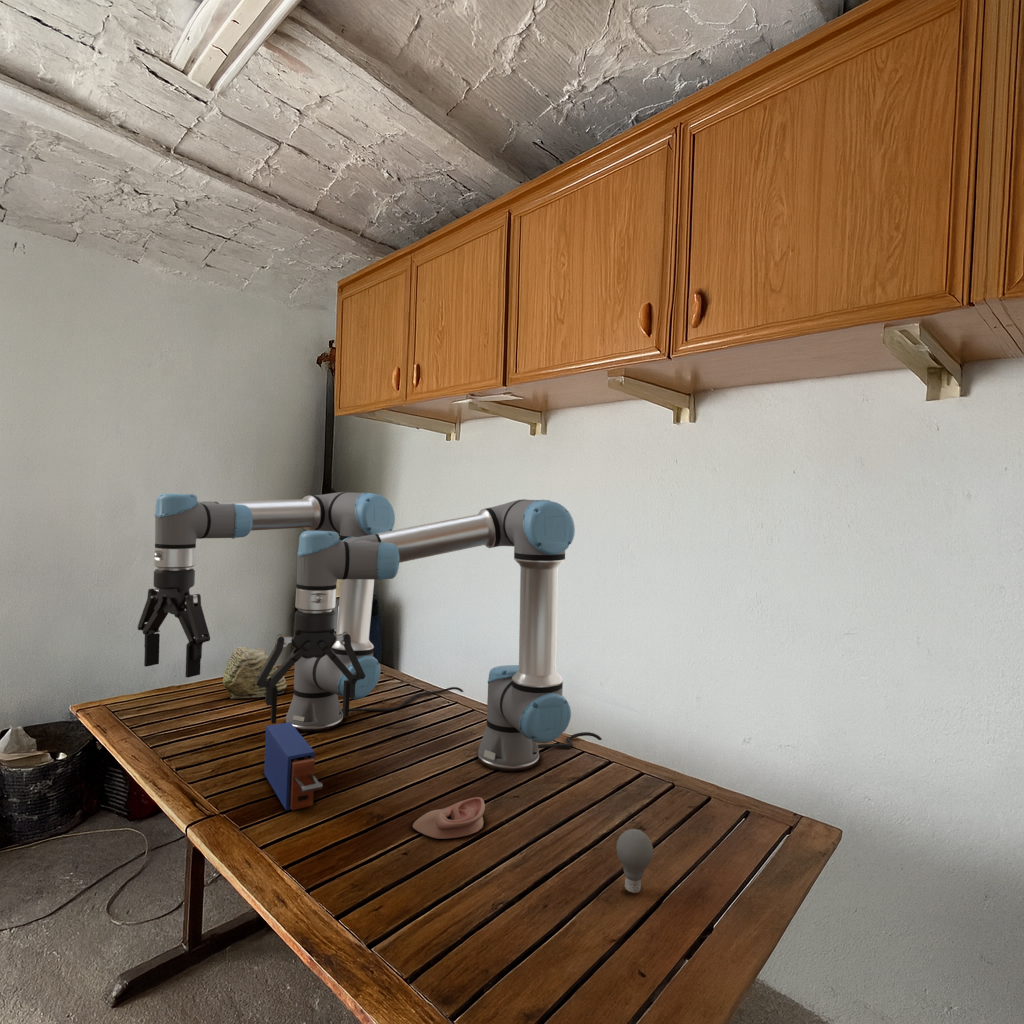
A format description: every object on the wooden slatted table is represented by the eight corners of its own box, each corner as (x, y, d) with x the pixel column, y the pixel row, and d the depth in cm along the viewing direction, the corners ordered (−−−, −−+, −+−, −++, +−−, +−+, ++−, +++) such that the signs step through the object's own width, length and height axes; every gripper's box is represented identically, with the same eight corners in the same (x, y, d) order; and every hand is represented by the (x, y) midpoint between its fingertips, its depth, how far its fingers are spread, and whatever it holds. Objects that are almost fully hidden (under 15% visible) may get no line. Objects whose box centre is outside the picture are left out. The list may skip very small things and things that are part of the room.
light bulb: (610, 879, 108) (613, 822, 108) (644, 879, 109) (647, 822, 109) (619, 902, 102) (622, 840, 102) (655, 901, 103) (658, 840, 103)
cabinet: (312, 804, 130) (314, 751, 130) (285, 810, 127) (287, 756, 127) (288, 769, 146) (290, 721, 146) (264, 773, 143) (265, 725, 143)
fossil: (218, 695, 195) (220, 647, 195) (278, 685, 208) (279, 640, 207) (228, 703, 189) (230, 653, 188) (289, 692, 201) (290, 645, 201)
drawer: (322, 818, 123) (324, 771, 123) (300, 824, 121) (302, 776, 121) (289, 771, 143) (291, 730, 143) (270, 775, 141) (271, 733, 141)
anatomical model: (407, 813, 120) (427, 787, 131) (406, 834, 120) (426, 806, 131) (475, 823, 117) (489, 796, 129) (474, 845, 117) (488, 815, 129)
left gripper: (120, 564, 133) (117, 664, 134) (197, 575, 121) (193, 685, 122) (155, 561, 140) (152, 657, 140) (231, 572, 128) (227, 676, 129)
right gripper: (247, 615, 115) (241, 731, 115) (383, 611, 126) (377, 718, 126) (245, 607, 122) (240, 717, 122) (374, 605, 132) (369, 706, 133)
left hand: (171, 670), depth 131 cm, fingers open, 13 cm apart
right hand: (310, 718), depth 124 cm, fingers open, 13 cm apart
